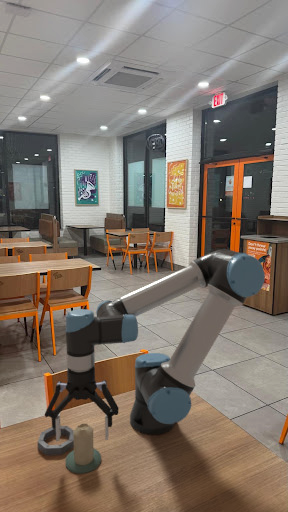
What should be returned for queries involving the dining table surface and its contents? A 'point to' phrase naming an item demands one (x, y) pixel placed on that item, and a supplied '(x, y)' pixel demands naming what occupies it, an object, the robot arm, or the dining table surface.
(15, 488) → the dining table surface
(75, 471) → the coaster
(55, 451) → the holder ring
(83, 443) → the candle
